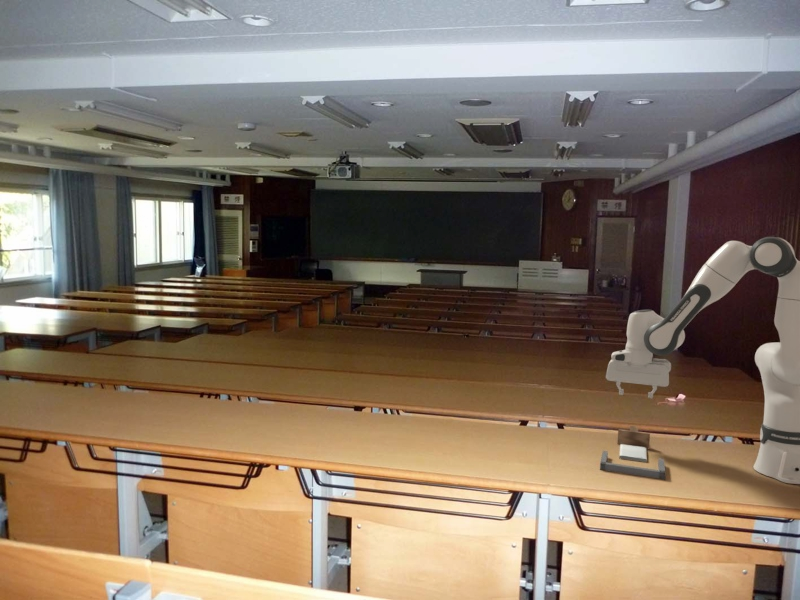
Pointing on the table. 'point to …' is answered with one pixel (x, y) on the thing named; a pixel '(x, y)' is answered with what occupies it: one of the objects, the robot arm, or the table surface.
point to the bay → (633, 468)
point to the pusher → (633, 437)
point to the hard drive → (633, 453)
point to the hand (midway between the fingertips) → (635, 396)
